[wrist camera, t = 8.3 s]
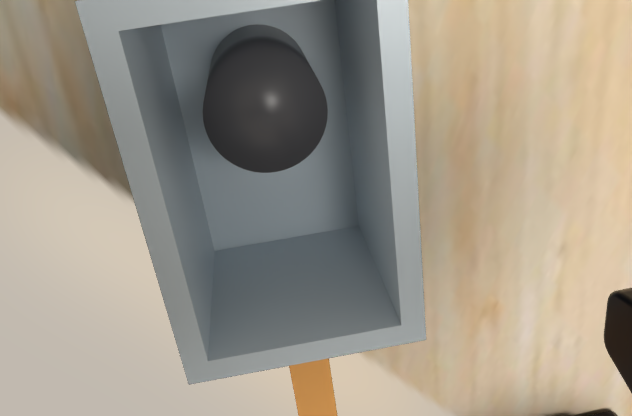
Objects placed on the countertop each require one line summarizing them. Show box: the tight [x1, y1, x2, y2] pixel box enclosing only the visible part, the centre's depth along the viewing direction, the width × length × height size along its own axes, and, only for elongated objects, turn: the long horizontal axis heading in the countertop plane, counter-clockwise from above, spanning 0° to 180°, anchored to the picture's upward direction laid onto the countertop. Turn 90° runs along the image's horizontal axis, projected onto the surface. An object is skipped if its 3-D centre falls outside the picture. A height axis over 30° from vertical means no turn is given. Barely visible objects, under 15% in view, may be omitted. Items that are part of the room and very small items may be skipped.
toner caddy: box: [75, 0, 426, 416], centre depth 16 cm, size 12×6×6 cm, turn 9°
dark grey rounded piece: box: [203, 24, 328, 173], centre depth 15 cm, size 3×3×4 cm
